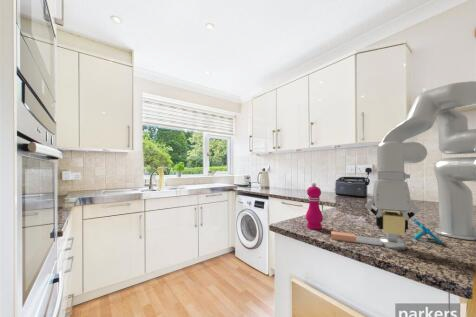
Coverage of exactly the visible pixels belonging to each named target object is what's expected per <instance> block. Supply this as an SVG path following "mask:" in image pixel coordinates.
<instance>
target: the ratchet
mask: <svg viewBox="0 0 476 317" xmlns="http://www.w3.org/2000/svg"><path fill="white" fill-rule="evenodd" d="M330 235H331V236H330V237H331V240H333V241H334V240H336V241H343V242H350V243H357V244H359V243H360V244H366V245H371V246H372V245H373V246H380V247H383V248H386V249H391V250H396V251H404V250H406V241H404V240H403V239H400V238H398V236H399V235H398V234H390V233H385V236H379V238H378V237H377V238H376V237H369V236H362V235H356V234H355V233H350V232H342V231H336V230H335V231H334V230H331V233H330Z"/></svg>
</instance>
